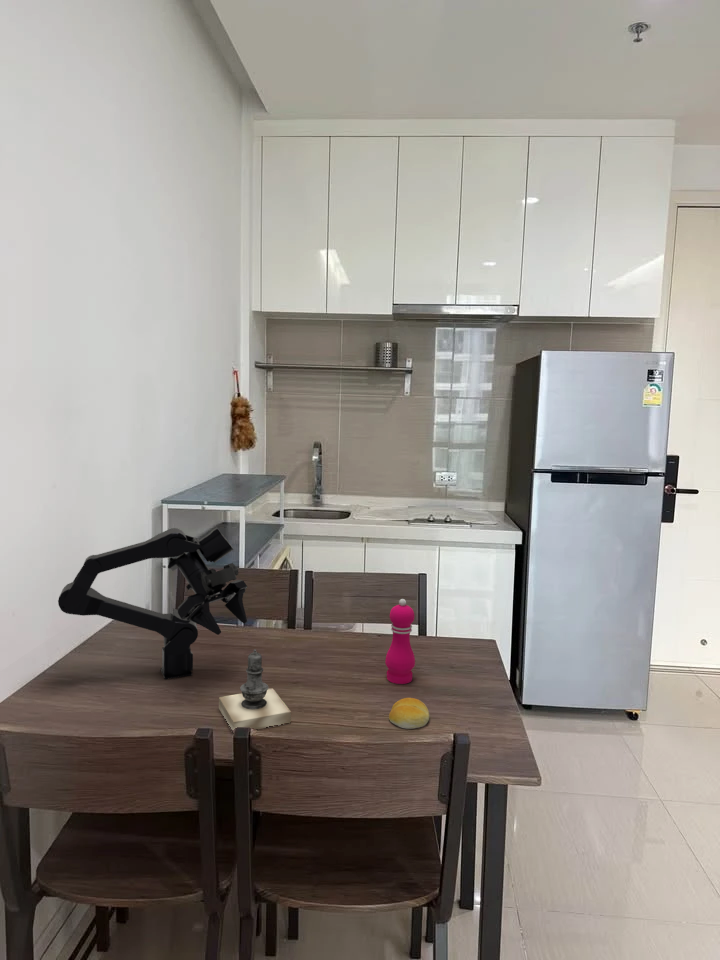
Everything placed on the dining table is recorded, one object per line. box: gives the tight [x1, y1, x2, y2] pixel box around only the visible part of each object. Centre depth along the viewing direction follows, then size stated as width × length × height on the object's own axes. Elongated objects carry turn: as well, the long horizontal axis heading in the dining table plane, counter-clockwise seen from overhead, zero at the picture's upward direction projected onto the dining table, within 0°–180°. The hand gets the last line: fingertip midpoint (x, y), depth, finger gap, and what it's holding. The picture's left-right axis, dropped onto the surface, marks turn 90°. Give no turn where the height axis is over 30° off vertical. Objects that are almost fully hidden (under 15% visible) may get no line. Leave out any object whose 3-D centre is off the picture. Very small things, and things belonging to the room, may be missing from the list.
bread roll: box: [388, 697, 430, 730], centre depth 136 cm, size 8×9×4 cm
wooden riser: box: [218, 688, 292, 730], centre depth 136 cm, size 12×12×2 cm
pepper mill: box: [385, 598, 416, 685], centre depth 156 cm, size 7×7×20 cm
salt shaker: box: [239, 648, 269, 709], centre depth 135 cm, size 6×6×12 cm
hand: (233, 627), depth 149 cm, fingers open, 9 cm apart
